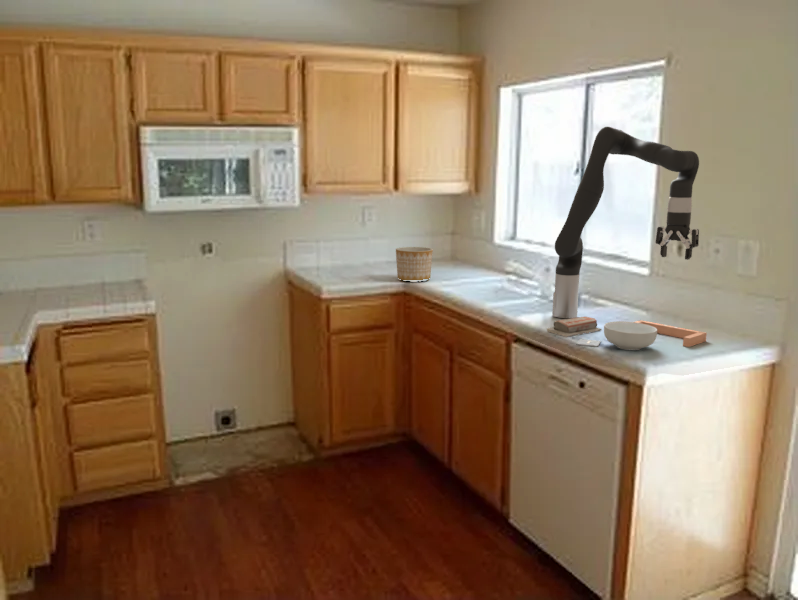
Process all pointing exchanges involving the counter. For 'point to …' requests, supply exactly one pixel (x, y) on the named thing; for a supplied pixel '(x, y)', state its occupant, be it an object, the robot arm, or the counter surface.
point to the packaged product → (574, 326)
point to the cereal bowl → (630, 334)
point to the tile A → (588, 342)
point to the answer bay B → (679, 333)
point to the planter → (414, 263)
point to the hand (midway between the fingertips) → (675, 258)
